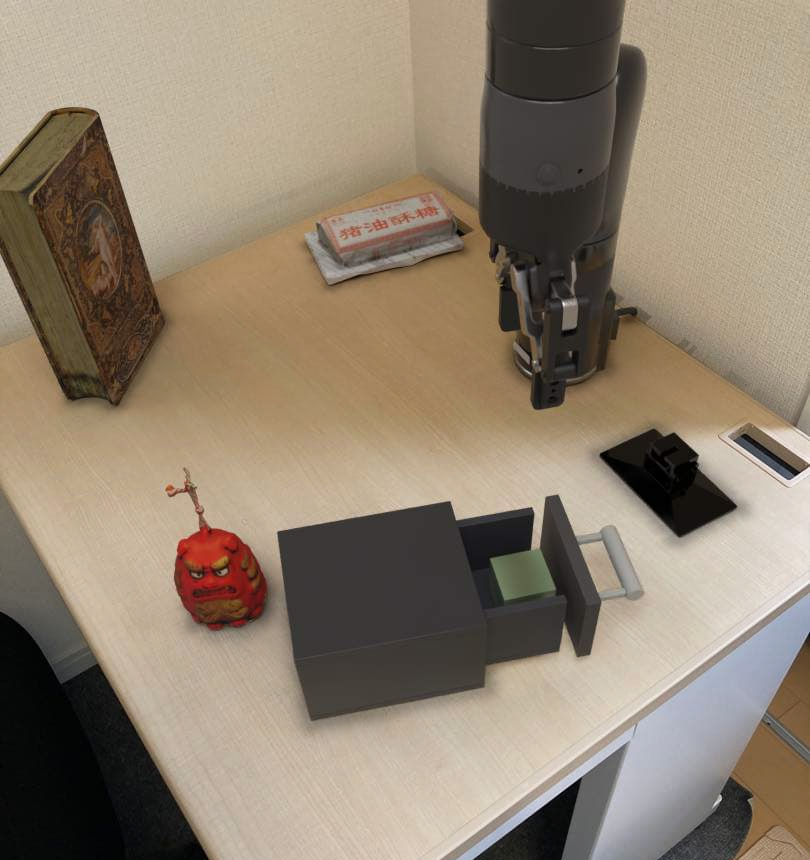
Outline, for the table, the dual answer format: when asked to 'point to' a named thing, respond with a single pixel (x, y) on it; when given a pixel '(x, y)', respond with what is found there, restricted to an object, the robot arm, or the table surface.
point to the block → (520, 578)
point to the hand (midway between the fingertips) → (529, 364)
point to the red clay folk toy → (217, 573)
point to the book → (77, 255)
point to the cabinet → (382, 610)
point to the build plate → (668, 480)
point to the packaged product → (383, 236)
